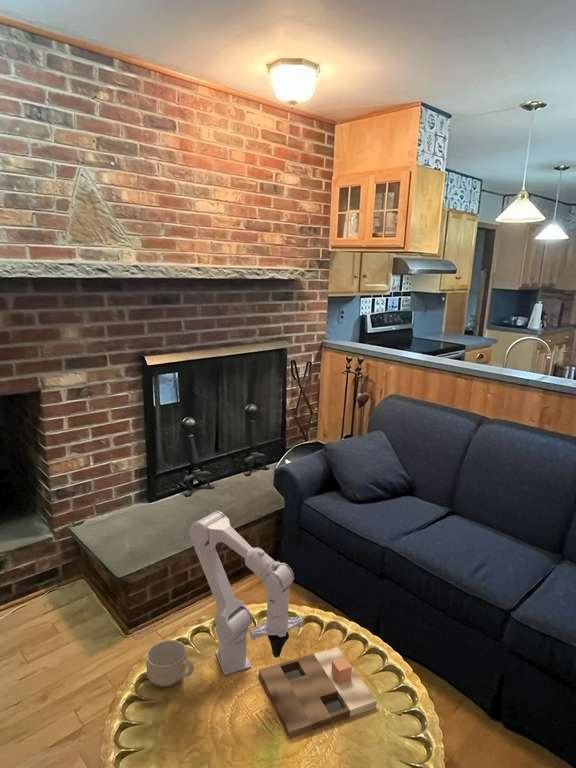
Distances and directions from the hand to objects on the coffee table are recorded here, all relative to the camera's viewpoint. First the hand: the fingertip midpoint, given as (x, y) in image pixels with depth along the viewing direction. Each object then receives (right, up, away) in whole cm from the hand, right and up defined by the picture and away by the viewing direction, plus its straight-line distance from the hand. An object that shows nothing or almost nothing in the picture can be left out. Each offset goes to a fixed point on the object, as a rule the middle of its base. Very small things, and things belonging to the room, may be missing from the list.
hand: (275, 654), depth 133 cm
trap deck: (+11, -10, 0) cm, 15 cm away
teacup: (-29, -8, +2) cm, 30 cm away
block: (+18, -8, +3) cm, 20 cm away
